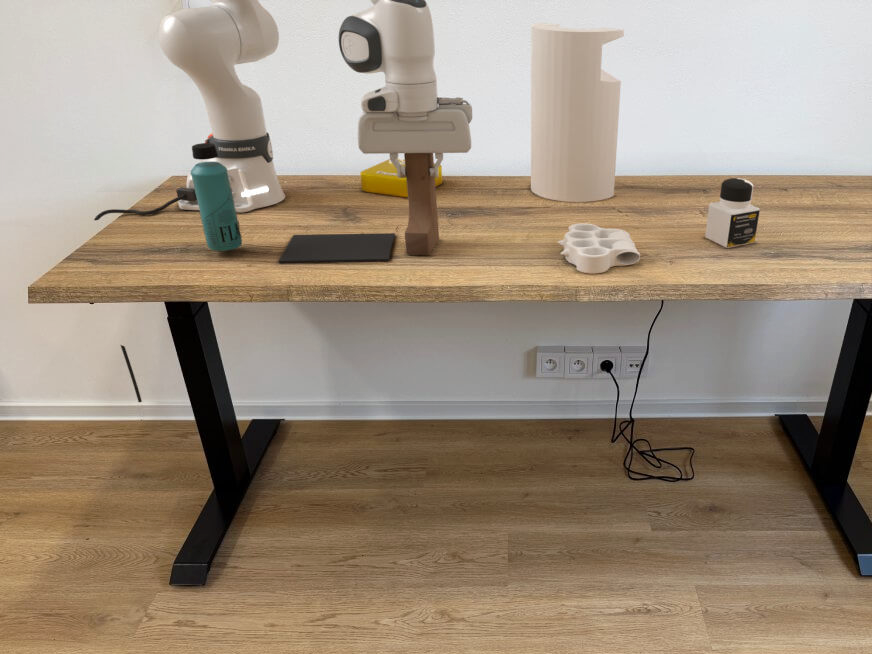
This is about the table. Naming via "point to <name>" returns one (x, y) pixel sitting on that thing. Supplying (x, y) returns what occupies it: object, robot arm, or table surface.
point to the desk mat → (338, 248)
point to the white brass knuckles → (598, 248)
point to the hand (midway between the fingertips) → (418, 177)
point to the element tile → (388, 179)
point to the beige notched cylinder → (572, 114)
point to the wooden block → (421, 205)
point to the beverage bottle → (215, 200)
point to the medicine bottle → (733, 215)
